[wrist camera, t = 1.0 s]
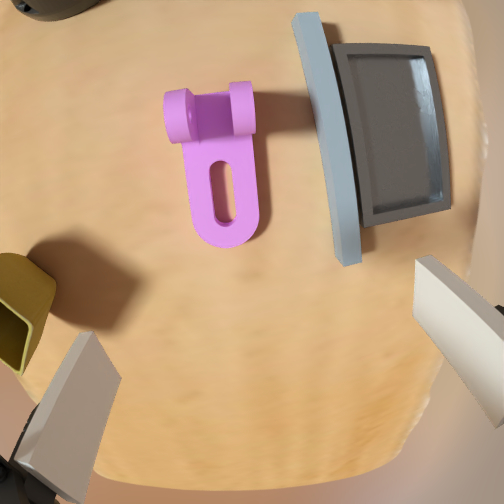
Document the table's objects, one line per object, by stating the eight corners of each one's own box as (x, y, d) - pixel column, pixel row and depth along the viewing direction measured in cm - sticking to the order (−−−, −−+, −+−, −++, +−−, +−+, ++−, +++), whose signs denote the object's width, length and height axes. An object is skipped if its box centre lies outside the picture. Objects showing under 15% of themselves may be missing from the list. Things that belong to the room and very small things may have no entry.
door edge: (291, 22, 20) (296, 13, 18) (311, 21, 20) (317, 11, 18) (335, 256, 29) (343, 266, 26) (352, 252, 29) (362, 262, 26)
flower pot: (55, 330, 30) (21, 378, 22) (3, 289, 28) (-38, 328, 20) (76, 278, 28) (33, 325, 20) (17, 232, 26) (-34, 265, 17)
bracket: (180, 100, 23) (161, 88, 16) (246, 91, 23) (251, 76, 16) (198, 245, 28) (188, 280, 21) (260, 238, 28) (268, 271, 21)
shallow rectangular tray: (325, 49, 22) (332, 44, 20) (418, 50, 21) (429, 46, 19) (355, 221, 27) (364, 227, 26) (439, 204, 27) (450, 208, 25)
